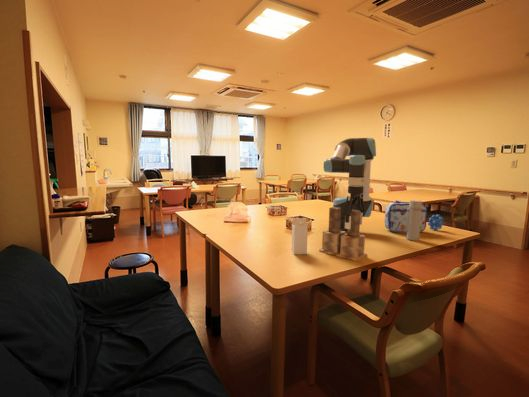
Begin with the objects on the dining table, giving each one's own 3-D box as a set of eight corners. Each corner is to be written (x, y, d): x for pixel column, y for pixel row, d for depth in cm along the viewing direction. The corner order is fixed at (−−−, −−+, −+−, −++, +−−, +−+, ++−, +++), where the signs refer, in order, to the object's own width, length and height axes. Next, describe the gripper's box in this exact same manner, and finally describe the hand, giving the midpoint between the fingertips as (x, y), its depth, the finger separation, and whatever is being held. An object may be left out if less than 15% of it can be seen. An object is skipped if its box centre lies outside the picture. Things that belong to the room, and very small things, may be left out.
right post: (345, 253, 150) (347, 210, 147) (349, 251, 153) (352, 209, 150) (354, 255, 147) (356, 211, 143) (358, 253, 150) (361, 210, 147)
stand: (319, 251, 157) (319, 231, 155) (330, 246, 166) (330, 228, 164) (356, 261, 142) (358, 240, 140) (366, 255, 151) (368, 235, 149)
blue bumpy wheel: (446, 231, 201) (448, 215, 199) (440, 232, 198) (442, 215, 196) (431, 228, 211) (433, 212, 210) (425, 228, 209) (426, 212, 207)
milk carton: (291, 250, 158) (292, 216, 155) (304, 250, 159) (305, 216, 156) (293, 254, 151) (294, 219, 148) (306, 254, 152) (308, 219, 149)
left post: (327, 248, 157) (328, 207, 154) (331, 246, 161) (333, 206, 157) (335, 250, 154) (337, 209, 151) (339, 248, 157) (341, 207, 154)
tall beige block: (418, 238, 183) (421, 200, 180) (420, 241, 176) (423, 202, 172) (402, 237, 186) (405, 199, 183) (403, 240, 179) (407, 201, 175)
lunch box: (386, 233, 196) (388, 201, 193) (381, 229, 206) (383, 199, 203) (427, 233, 195) (430, 202, 192) (419, 230, 206) (422, 199, 203)
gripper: (351, 188, 133) (349, 232, 136) (372, 184, 151) (370, 223, 154) (337, 186, 138) (335, 229, 141) (359, 183, 156) (357, 221, 159)
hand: (353, 226), depth 148 cm, fingers open, 13 cm apart
